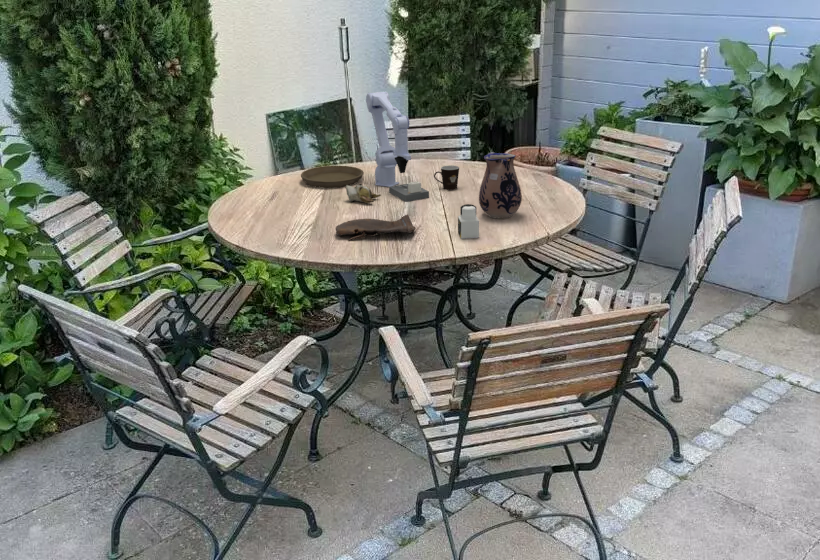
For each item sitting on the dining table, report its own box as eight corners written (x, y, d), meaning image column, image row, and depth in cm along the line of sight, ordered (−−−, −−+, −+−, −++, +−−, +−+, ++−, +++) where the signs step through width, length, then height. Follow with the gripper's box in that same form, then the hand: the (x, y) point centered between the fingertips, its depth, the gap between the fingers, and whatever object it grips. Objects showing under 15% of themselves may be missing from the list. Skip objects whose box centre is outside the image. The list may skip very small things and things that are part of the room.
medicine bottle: (457, 233, 280) (457, 203, 276) (475, 232, 281) (476, 202, 276) (460, 239, 274) (460, 208, 269) (479, 238, 274) (479, 207, 269)
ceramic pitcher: (494, 224, 288) (495, 163, 278) (466, 211, 305) (466, 153, 296) (529, 217, 295) (532, 157, 286) (500, 204, 313) (501, 147, 303)
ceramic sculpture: (350, 178, 327) (381, 182, 323) (350, 196, 330) (381, 200, 326) (341, 185, 317) (373, 188, 314) (341, 203, 321) (373, 207, 317)
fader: (408, 191, 324) (407, 182, 323) (418, 189, 326) (417, 181, 325) (411, 193, 322) (411, 184, 320) (421, 191, 324) (420, 182, 322)
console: (389, 193, 335) (388, 186, 334) (412, 189, 340) (411, 182, 339) (405, 201, 321) (405, 195, 320) (429, 197, 326) (428, 191, 324)
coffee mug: (459, 186, 343) (459, 165, 339) (459, 190, 335) (458, 169, 331) (435, 186, 344) (435, 165, 340) (434, 190, 336) (433, 169, 332)
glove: (332, 242, 275) (332, 230, 273) (339, 225, 294) (338, 214, 292) (415, 241, 274) (414, 228, 272) (416, 224, 292) (416, 212, 291)
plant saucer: (376, 177, 362) (375, 169, 360) (338, 193, 338) (337, 183, 336) (327, 171, 378) (327, 162, 376) (288, 185, 354) (287, 176, 352)
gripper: (386, 141, 331) (387, 170, 336) (400, 147, 319) (401, 177, 324) (400, 139, 334) (401, 168, 339) (414, 145, 322) (415, 175, 327)
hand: (402, 172), depth 332 cm, fingers closed
